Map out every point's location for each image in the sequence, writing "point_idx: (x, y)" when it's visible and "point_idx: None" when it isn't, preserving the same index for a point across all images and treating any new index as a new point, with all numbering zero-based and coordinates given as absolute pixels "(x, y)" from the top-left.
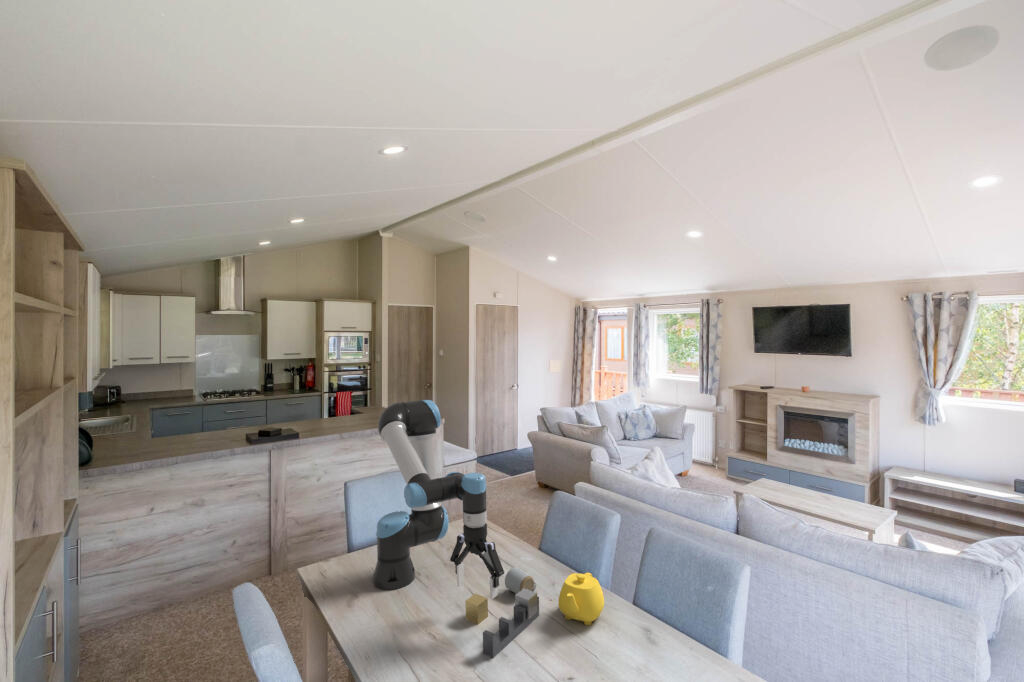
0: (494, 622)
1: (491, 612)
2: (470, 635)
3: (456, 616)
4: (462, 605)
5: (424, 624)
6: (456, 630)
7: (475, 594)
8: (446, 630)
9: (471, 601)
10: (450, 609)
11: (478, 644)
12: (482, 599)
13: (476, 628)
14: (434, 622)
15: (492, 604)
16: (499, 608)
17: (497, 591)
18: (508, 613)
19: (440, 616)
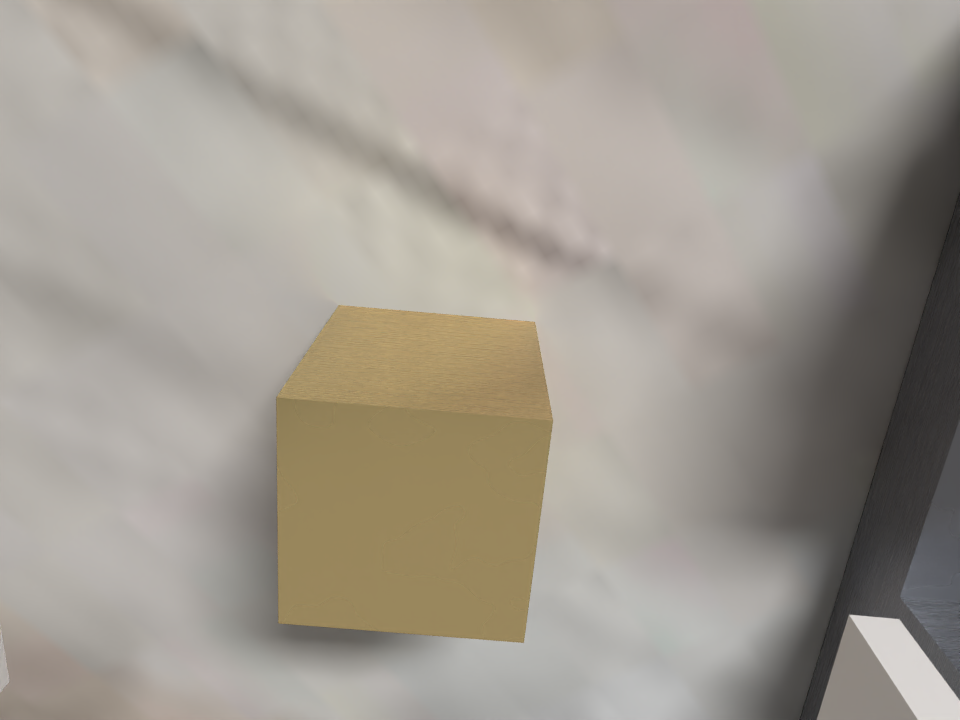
0: (665, 379)
1: (526, 226)
2: (546, 650)
3: (209, 485)
4: (101, 278)
5: (46, 711)
6: (376, 652)
7: (296, 423)
8: (292, 689)
9: (373, 602)
10: (48, 414)
11: (686, 709)
12: (495, 489)
13: (537, 548)
14: (98, 653)
15: (433, 50)
16: (576, 89)
17: (940, 677)
18: (748, 133)
19: (65, 559)
